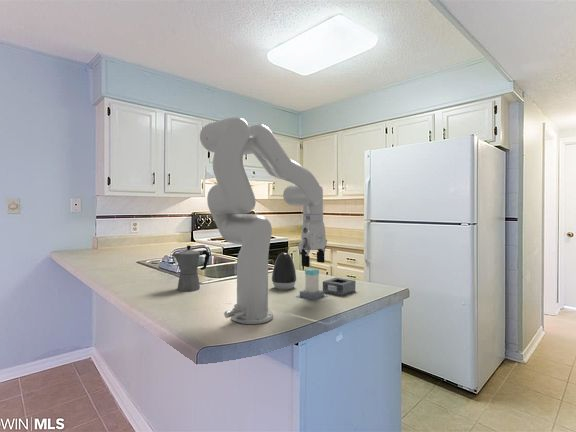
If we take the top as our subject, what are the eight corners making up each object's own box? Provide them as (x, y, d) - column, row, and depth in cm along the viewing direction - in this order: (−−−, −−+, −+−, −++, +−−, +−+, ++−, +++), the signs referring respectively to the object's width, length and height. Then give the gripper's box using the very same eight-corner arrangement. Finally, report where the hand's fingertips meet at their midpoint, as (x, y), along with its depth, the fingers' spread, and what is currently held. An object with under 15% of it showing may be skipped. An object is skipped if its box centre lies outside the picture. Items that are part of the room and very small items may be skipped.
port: (342, 297, 125) (342, 285, 125) (322, 293, 131) (322, 281, 131) (355, 292, 133) (355, 280, 133) (335, 288, 139) (336, 277, 139)
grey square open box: (314, 302, 118) (314, 295, 118) (295, 298, 124) (295, 291, 124) (328, 297, 125) (328, 290, 125) (309, 293, 131) (309, 287, 131)
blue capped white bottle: (313, 298, 122) (313, 271, 122) (304, 296, 125) (305, 269, 124) (318, 296, 125) (319, 269, 125) (310, 294, 127) (310, 268, 127)
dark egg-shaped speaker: (298, 286, 142) (299, 251, 142) (292, 292, 132) (293, 254, 132) (276, 285, 145) (276, 250, 145) (268, 290, 135) (268, 253, 135)
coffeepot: (174, 293, 130) (174, 247, 129) (169, 288, 138) (169, 245, 137) (213, 288, 138) (213, 245, 137) (206, 284, 146) (206, 243, 145)
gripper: (307, 220, 115) (307, 269, 116) (333, 217, 128) (334, 261, 129) (290, 219, 120) (291, 266, 121) (317, 217, 133) (318, 259, 134)
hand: (313, 264), depth 125 cm, fingers open, 9 cm apart
